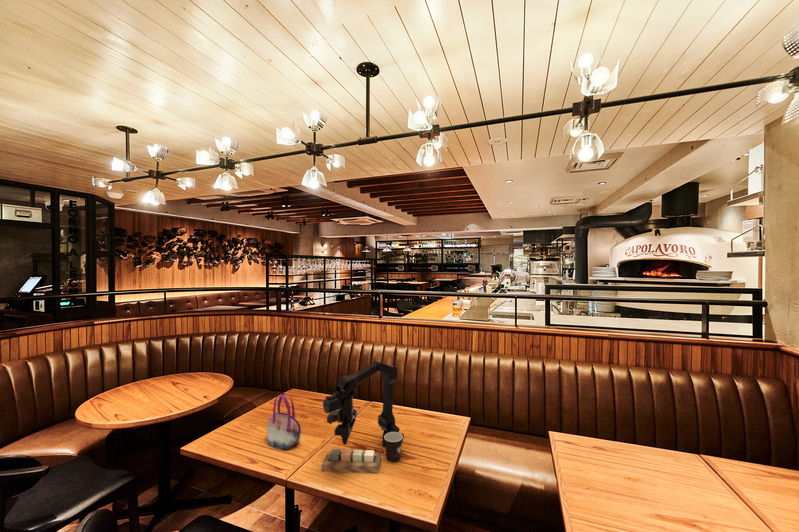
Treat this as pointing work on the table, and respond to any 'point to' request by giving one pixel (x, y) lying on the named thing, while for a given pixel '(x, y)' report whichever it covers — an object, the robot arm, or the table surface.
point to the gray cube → (335, 455)
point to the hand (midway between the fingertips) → (346, 440)
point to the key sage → (358, 456)
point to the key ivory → (369, 456)
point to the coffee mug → (393, 446)
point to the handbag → (283, 426)
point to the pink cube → (346, 455)
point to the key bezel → (352, 465)
